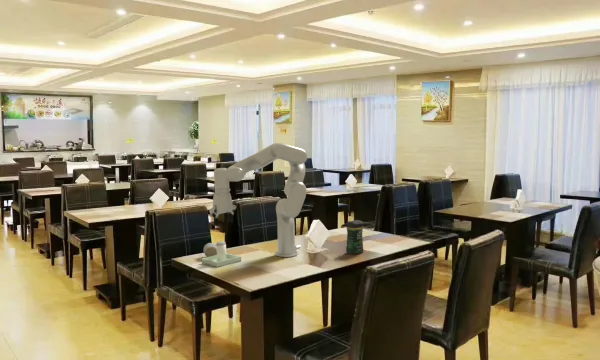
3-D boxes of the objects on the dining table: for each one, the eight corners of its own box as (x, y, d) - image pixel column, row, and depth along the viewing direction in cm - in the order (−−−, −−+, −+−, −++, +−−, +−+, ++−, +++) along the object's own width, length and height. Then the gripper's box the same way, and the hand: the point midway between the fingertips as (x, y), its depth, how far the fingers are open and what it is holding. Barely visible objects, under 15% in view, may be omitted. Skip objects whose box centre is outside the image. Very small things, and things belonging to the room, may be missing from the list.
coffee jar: (354, 255, 269) (354, 222, 267) (343, 253, 275) (343, 220, 273) (365, 252, 275) (365, 220, 274) (355, 250, 281) (355, 218, 280)
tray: (225, 257, 268) (225, 252, 268) (241, 261, 259) (241, 256, 259) (202, 263, 256) (201, 258, 256) (217, 267, 248) (217, 262, 247)
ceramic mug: (205, 260, 263) (205, 246, 262) (203, 256, 271) (203, 243, 270) (224, 258, 267) (224, 244, 266) (222, 255, 274) (222, 241, 274)
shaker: (222, 259, 261) (221, 241, 260) (228, 260, 258) (227, 242, 257) (215, 261, 258) (214, 243, 257) (221, 262, 254) (220, 244, 253)
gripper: (230, 189, 264) (231, 220, 266) (204, 192, 252) (206, 225, 253) (239, 190, 259) (240, 221, 261) (213, 193, 247) (215, 226, 248)
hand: (223, 223), depth 257 cm, fingers open, 9 cm apart
